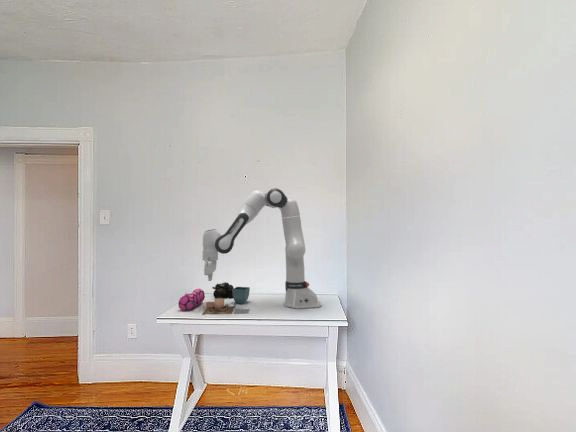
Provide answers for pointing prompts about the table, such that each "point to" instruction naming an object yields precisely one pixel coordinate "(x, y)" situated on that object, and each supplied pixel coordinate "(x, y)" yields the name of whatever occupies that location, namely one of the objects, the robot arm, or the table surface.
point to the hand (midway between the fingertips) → (210, 280)
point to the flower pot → (240, 294)
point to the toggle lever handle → (216, 303)
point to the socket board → (219, 310)
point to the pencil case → (191, 300)
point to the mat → (241, 311)
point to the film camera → (223, 291)
